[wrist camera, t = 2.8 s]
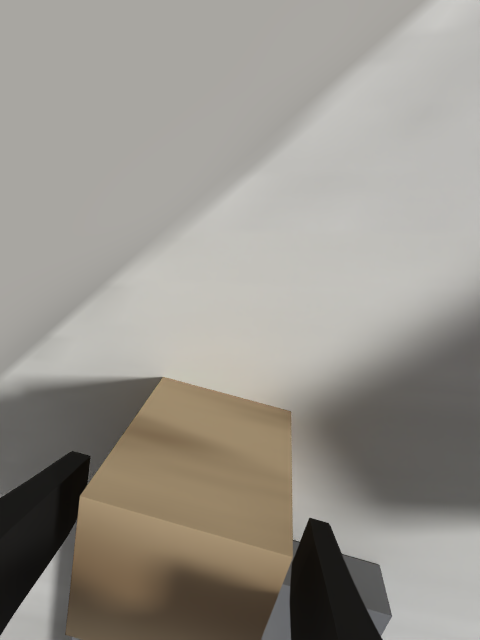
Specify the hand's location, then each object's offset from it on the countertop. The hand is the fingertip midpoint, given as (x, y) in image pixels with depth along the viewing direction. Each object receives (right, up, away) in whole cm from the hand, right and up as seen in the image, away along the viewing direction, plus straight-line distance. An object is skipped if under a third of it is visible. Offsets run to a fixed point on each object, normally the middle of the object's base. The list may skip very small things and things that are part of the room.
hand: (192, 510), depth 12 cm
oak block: (0, +1, +3) cm, 3 cm away
